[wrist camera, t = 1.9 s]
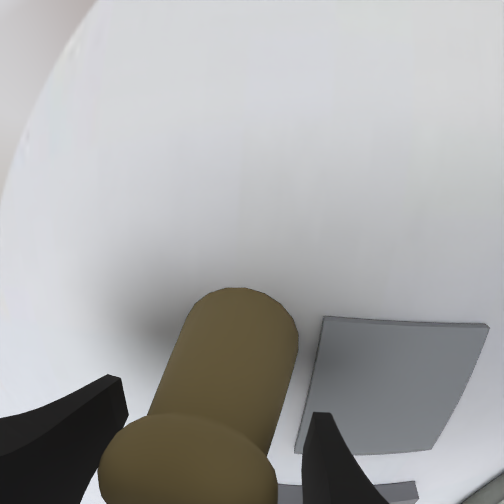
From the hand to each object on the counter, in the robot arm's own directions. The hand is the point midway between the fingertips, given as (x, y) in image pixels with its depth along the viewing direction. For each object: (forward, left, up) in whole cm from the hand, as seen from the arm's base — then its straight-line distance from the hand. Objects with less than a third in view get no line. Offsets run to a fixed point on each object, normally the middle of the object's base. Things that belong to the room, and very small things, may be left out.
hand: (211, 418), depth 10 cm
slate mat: (-9, +3, -6) cm, 11 cm away
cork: (0, 0, -6) cm, 6 cm away
